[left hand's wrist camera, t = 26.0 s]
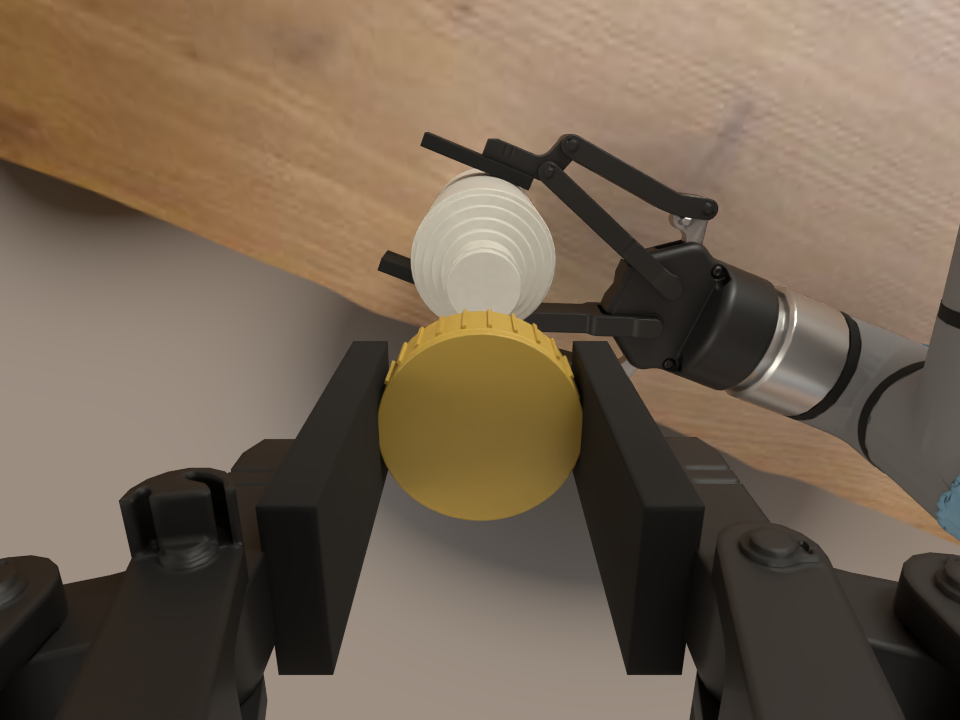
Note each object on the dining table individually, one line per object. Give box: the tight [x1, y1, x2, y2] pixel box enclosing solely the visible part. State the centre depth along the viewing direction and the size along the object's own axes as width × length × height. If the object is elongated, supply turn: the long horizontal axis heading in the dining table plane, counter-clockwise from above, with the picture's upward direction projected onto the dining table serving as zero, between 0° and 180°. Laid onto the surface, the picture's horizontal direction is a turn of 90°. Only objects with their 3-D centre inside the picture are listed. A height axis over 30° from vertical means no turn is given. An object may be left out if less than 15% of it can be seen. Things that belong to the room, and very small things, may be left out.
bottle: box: [411, 169, 556, 320], centre depth 34 cm, size 7×7×20 cm
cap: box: [378, 309, 583, 521], centre depth 14 cm, size 4×4×2 cm
